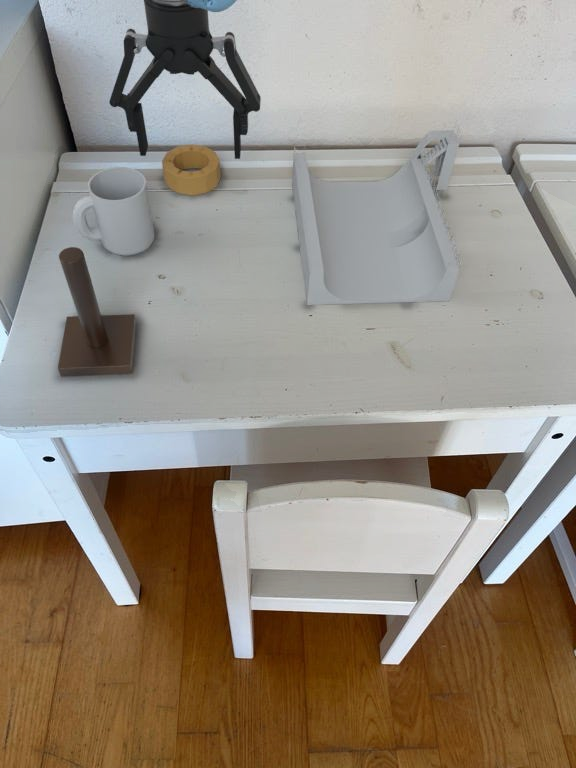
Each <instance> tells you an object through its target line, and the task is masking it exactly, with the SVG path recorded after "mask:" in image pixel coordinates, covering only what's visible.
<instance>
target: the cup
mask: <svg viewBox="0 0 576 768" xmlns="http://www.w3.org/2000/svg"><path fill="white" fill-rule="evenodd" d="M87 190H88V195H83V196H82V197H81V198H79V199H78V200H77V201H76V203H75V204H74V206H73V211H72V221H73V225H74V227H75V229H76V231H77V233H79V235H80V236H81V237H82V238H84V239H85V240H88V241H91V242H93V241H94V242H98V241H101V244H102V246H103V247H104V248H105V249H106V250H107V251H109V252H110V253H113V254H115V255H118V256H127V257H129V256H135V255H139V254H142V253H143V252H144V251H147V250H148V249H149V248H150V247H151V246H152V244H153V242H154V240H155V235H156V234H155V227H154V221H153V215H152V214H153V213H152V209H151V208H152V207H151V203H150V197H149V190H148V185H147V180H146V176H145V175H144V174H143V173H142V172H140V171H139V170H137V169H136V168H133V167H129V166H128V167H127V166H112V167H108V168H104V169H102V170H99V171H97V172H96V173H94V174H93V175H92V176H91V177H90V179H89V180H88V183H87ZM90 209H92V210H93V214H94V218H95V221H96V226H97V227H95V228H91V227H90V225H89V223H88V221H87V211H89V210H90Z"/></svg>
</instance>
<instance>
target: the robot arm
mask: <svg viewBox="0 0 576 768" xmlns="http://www.w3.org/2000/svg"><path fill="white" fill-rule="evenodd" d="M236 2H237V0H143V5H144V13H145V18H146V19H145V20H146V25H147V26H146V27H147V34H142V33H137V31H136V30H135V29H133V28H128V29H127V30H126V33H125V36H124V39H123V53H124V55H123V58H122V61H121V65H120V68H119V70H118V74H117V77H116V80H115V84H114V86H113V89H112V92H111V95H110V99H109V101H108V102H109V105H110V106H111V107H112V108H117V107H118V108H120V109H122V110H123V111H124V112H125V113H124V114H125V118H126V123H127V128H128V130H129V132H130V133H136V139H137V145H138V150H139V156H140V157H146V156H147V152H148V147H149V142H148V135H147V129H146V124H145V117H144V112H143V105H142V102H140V101H141V100H142V99H143V97H144V96H145V95H146V93H147V92H148V90H150V87H151V86H152V85H153V83H154V82H155V81H156V79H158V78H159V77H160V75H162V73H163V71H164V70H165V71H167V72H169V74H170V75H178V74H184V75H189V76H190V75H191V76H192V75H195V73H198V74H200V75H201V76H202V77H203V78H204V80H207V81H208V82H209V83H210V84H211V85H212V86H213V87H214V89H216V90H217V92H218V93H219V94H220V95H221V96H222V97H223V98H224V99H225V100H226V102H228V104H229V105H230V106H231V107H232V109H233V113H232V126H233V127H232V128H233V147H234V150H233V152H234V160H241V153H242V152H241V151H242V142H241V141H242V139H241V138H242V137H241V136H247V135H248V132H249V113H252V112H255V113H257V112H260V110H261V102H262V97H261V95H260V93H259V91H258V89H257V87H256V85H255V83H254V81H253V80H252V77H251V75H250V74H249V71H248V70H247V68H246V65H245V64H244V61H243V60H242V58H241V56H240V54H239V52H238V50H237V44H236V37H235V34H234V32H231V31H227V32H226V33H225V34H224V36H212V33H211V32H210V23H209V22H210V21H209V12H211V13H221V12H224V11H226V10H228V9H230V8H231V7H232V6H233V5H234V4H235V3H236ZM144 47H146V49H147V51H148V52H149V53H150V54H151V56H153V58H152V60H151V62H150V63H149V64H148V66H147V68H146V69H145V70H144V72H143V73H142V74H141V76H140V77H139V79H138V80H137V82H136V83H135V84H134V86H133V87H132V88H131V89H130V91H129V92H128V93H127V94H125V93H124V90H125V87H126V84H127V82H128V78H129V75H130V72H131V70H132V69H131V68H132V66H133V63H134V59H135V56H136V55H139V54H140V53H141V52H142V49H143V48H144ZM214 50H217V51H218V53H219V54H220V55H221V57H224V58H225V60H226V63H227V65H228V68H229V70H230V71H231V73H232V75H233V77H234V79H235V81H236V82H237V84H238V86H239V89H240V90H241V91H240V90H239V89H238V88H237V87H236V86H235V84H234V83H233V82H232V81H231V80H230V79H229V77H227V75H226V74H225V73H224V72H223V71H222V70H221V69H220V67H219V66H218V65H217V64H216V62H215V60H214V59H213V57H212V56H211V54H212V53H213V51H214Z"/></svg>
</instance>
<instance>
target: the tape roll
mask: <svg viewBox="0 0 576 768" xmlns="http://www.w3.org/2000/svg"><path fill="white" fill-rule="evenodd" d="M161 164H162V171H163V172H162V173H163V179H164V181H165V184H166V187H167V188H169V189H170V190H171V191H174V192H175V193H177V194H179V195H180V194H181V195H187V196H196V195H197V196H198V195H202V194H207V193H209V192H210V191H212V190H214V189H215V188H217V187H218V185H219V183H220V180H221V177H222V176H221V175H222V173H221V160H220V158H219V156H218V154H217V152H216V151H214V150H212V149H210V148H209V147H207V146H204V145H198V144H187V145H180V146H176V147H174V148H172V149H171V150H169V151H167V152H165V155H164V157H163V159H162V162H161ZM185 169H199V170H194V171H188V170H185Z"/></svg>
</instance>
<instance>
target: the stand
mask: <svg viewBox="0 0 576 768" xmlns="http://www.w3.org/2000/svg"><path fill="white" fill-rule="evenodd" d="M58 260H59V262H60V265H61V269H62V272H63V274H64V277H65V280H66V283H67V284H66V285H67V286H68V289H69V292H70V296H71V299H72V301H73V304H74V307H75V311H76V314H77V315H73V316H66V317H65V318H66V319H65V324H64V332H63V337H62V341H61V342H62V343H61V347H60V354H59V359H58V364H57V370H58V373H59V375H60V377H63V378H64V377H84V376H86V377H87V376H108V375H109V376H111V375H131V374H133V370H134V369H133V367H134V357H135V345H136V344H135V343H136V334H137V333H136V331H137V320H136V319H137V318H136V315H135V314H134V313H133V314H131V313H129V314H104V315H102V313H101V310H100V306H99V302H98V298H97V295H96V292H95V289H94V285H93V281H92V277H91V275H90V271H89V267H88V264H87V260H86V257H85V254H84V251H83V250H82V249H81V248H79V247H76V246H70V247H67V248H64V249H62V250H61V251H60V252H59V254H58Z"/></svg>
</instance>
